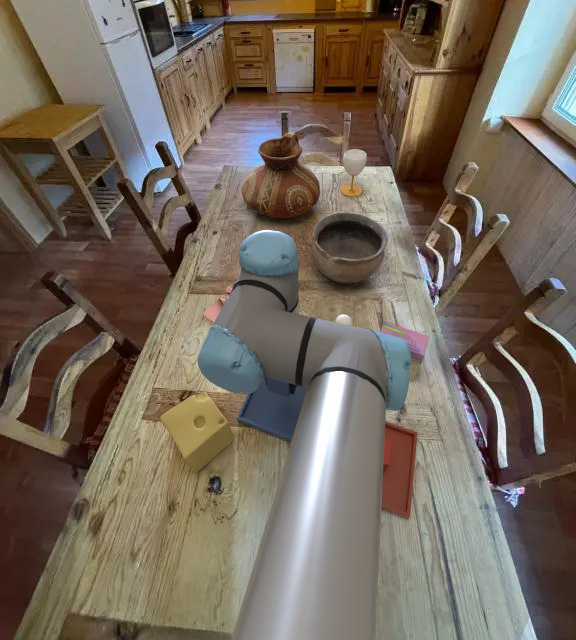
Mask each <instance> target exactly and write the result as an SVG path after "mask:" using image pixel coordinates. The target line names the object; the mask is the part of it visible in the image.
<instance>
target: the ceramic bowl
mask: <svg viewBox="0 0 576 640" xmlns="http://www.w3.org/2000/svg"><path fill="white" fill-rule="evenodd" d="M311 237H312V240H311V244H310V254H311V259H312V261H313V263H314V265H315V266H316V268H317V270H318V271H320V272H321V274H323V276H325V277H326V278H328V279H330V280H332V281H334V282H336V283H340V284H353V283H354V284H355V283H358V282H359V283H360V282H362V281H364V280H366V279H367V278H370V277H371V276H372V275H374V273H376V272H377V271H378V269H379V268H380V267H381V265H382V263H383V261H384V257H385V250H386V248H387V246H388V243H389V236H388V232H387V231H386V229H385V228H384V227H383V225H381V224H380V223H379V222H378V221H376V220H374V219H372V218H370V217H368V216H366V215H364V214H361V213H355V212H350V211H344V212H340V211H339V212H334V213H331V214H328V215H327V214H326V215H324V216H322V217H321V218H319V219H318V220H317V222H316V223H315V224H314V226H313V228H312V233H311Z"/></svg>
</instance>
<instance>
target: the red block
mask: <svg viewBox="0 0 576 640" xmlns="http://www.w3.org/2000/svg"><path fill="white" fill-rule="evenodd" d="M391 445H392V441H391V440H389V439H386V438H384V460H383V474H384V472H385V471H386V469H387V467H388V466H389V460H390V452H391Z"/></svg>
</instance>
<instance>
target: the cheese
mask: <svg viewBox="0 0 576 640" xmlns="http://www.w3.org/2000/svg"><path fill="white" fill-rule="evenodd" d="M225 417H226V416H224V415H223V413H222V412H221V411H220V410H219V408H218V407H217V406H216V404H215V403H214V401H213V399H212V398H211V397H209V395H208V393H207V391H202V392H201V393H199V394H192V395H191V396H189V397H187V398H186V399H184V400H183V401H181V402H179V403H178V404H176V405H175V406H173V407H172V408H170V409H168V410H167V411H165V412H164V413H163V414H162V415H161V416H160V417H159V420H160V422H161V424H162V425H163V427H164V428H165V429H166V431H168V433H169V434H170V436H171V438H172V440H173V441H174V444H175V445H176V447H177V448H178V450H179V452H180V454H181V456H182V458H183V459H184V462H185V463H187V465H188V466H189V467H190V469H191V470H192V471H193V473H195V474H196V473H198V472H199V471H201V470H202V469H203V468H204V467H205V466H206V465H208V463H210V462H211V461H212V460H213V459H214V458H215V457H216V456H217V455H219V453H221V452H222V451H223V450H224V449H225V448H227V447H229V445H230V444H231V443H233V442H234V441H235V435H234V433H233V431H232V427H231V426H230V424H229V422H228V420H227V419H226V418H225Z"/></svg>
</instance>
